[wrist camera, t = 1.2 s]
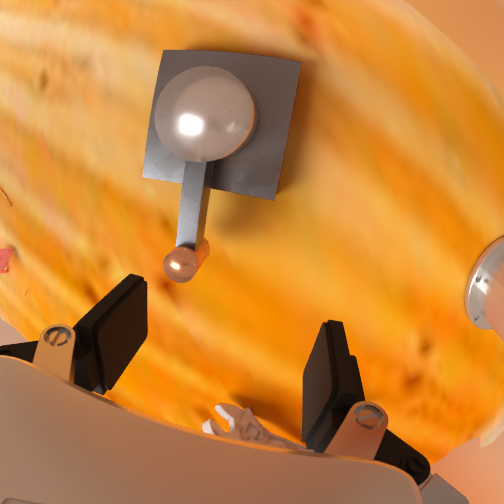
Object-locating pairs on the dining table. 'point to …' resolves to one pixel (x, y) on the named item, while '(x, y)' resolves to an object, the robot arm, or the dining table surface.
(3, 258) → the figurine
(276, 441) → the wrench
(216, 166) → the base
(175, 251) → the ball-ended lever handle
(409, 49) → the dining table surface
